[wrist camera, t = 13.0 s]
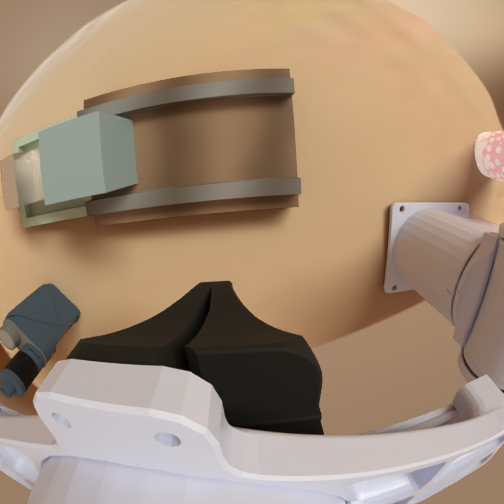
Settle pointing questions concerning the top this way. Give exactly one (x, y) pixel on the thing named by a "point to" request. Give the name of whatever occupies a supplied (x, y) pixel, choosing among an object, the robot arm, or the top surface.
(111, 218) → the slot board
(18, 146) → the chip tray
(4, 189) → the chip
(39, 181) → the chip
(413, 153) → the top surface
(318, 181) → the top surface
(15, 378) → the vaping device
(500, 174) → the beverage cup
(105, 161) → the sage green cube
